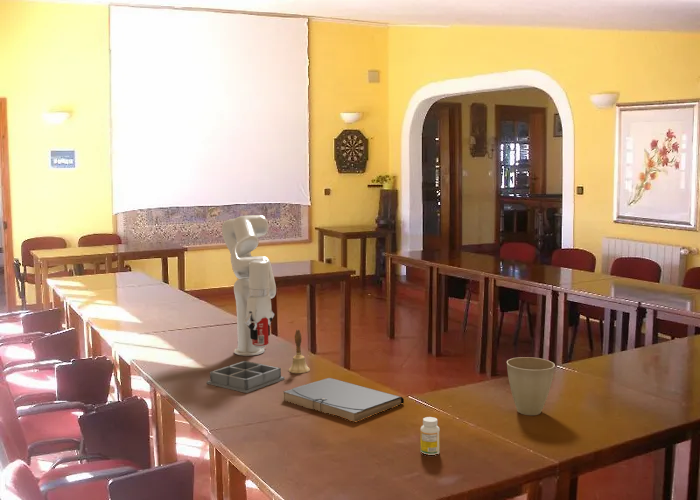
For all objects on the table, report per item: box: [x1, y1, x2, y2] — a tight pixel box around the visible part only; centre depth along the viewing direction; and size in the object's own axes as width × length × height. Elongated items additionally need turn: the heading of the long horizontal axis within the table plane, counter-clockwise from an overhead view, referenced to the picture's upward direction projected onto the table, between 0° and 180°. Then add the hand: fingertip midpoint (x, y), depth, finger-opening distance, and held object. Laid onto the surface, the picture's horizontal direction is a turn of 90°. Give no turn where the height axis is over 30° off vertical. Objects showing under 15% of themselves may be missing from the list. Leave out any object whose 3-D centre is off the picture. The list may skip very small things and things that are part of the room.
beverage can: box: [252, 317, 270, 348], centre depth 300 cm, size 6×6×12 cm
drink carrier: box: [206, 360, 285, 394], centre depth 282 cm, size 20×20×4 cm
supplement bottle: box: [419, 416, 441, 456], centre depth 213 cm, size 5×5×10 cm
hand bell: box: [287, 329, 311, 374], centre depth 295 cm, size 8×8×16 cm
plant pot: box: [506, 356, 556, 416], centre depth 245 cm, size 15×15×16 cm
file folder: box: [282, 377, 405, 423], centre depth 257 cm, size 33×4×24 cm
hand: (260, 336), depth 300 cm, fingers closed on beverage can, 6 cm apart
